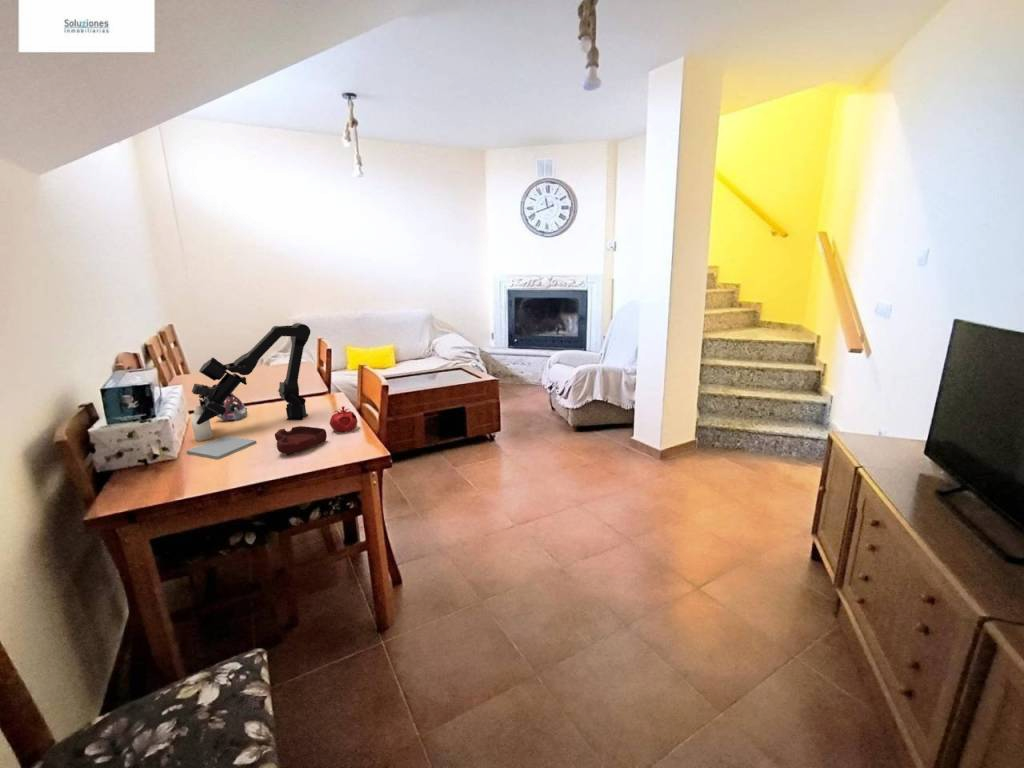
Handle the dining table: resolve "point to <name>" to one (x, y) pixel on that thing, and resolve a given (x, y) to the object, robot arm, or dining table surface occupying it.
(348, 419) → the pomegranate
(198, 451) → the board
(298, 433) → the ashtray
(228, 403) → the grey red pointed piece
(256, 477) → the dining table surface
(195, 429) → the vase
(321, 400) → the dining table surface
